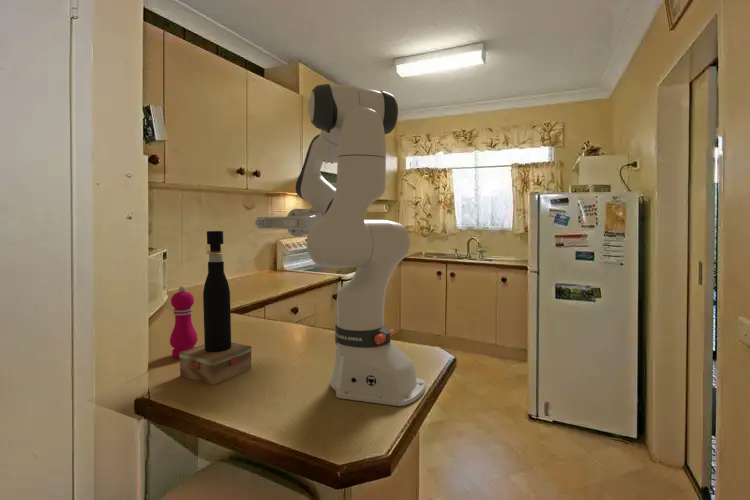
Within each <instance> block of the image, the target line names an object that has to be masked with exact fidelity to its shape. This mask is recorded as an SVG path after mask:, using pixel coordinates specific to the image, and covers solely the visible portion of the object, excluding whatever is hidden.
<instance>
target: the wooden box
mask: <svg viewBox="0 0 750 500" xmlns="http://www.w3.org/2000/svg"><path fill="white" fill-rule="evenodd" d="M194 347H195V348H192V349H189V350H185V351H182V352H180V354H179V358H180V359H179V358H178V359H179V375H180V377H183V378H187V379H191V380H193V381H198V382H202V383H204V384H209V385H213V386H215V385H218V384H219V383H222V382H224V381H226V380H228V379H232V378H233V377H236V376H238V375H241V374H242V373H245V372H247V371H249V370H250V371H251V369H252V346H251V345H246V344H243V343H242V344H240V343H238V342H237V343H236V342H232V341H231V348H230V349H228V350H226V351H221V352H207V351H205V343H204V344H202V345H198V346H194Z"/></svg>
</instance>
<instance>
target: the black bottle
mask: <svg viewBox="0 0 750 500" xmlns="http://www.w3.org/2000/svg"><path fill="white" fill-rule="evenodd" d="M206 244H207V245H209V248H210V249H209V250H210V251H209V252H210V254H208V262H207V276H206V279H205V282H204V285H203V291H202V298H203V299H202V300H203V301H202V302H203V303H202V304H203V331H204V333H203V336H204V339H203V340H204V342H203V343H204V344H205V351H207V352H221V351H226V350H228V349H230V348H231V342H232V325H231V324H232V323H231V321H232V320H231V317H232V316H231V290H230V286H229V285H230V284H229V282H228V279H227V277H226V275H225V266H224V264H225V262H224V261H223V260H224V258H223V254H221V253H222V248H221V245H224V231H223V230H208V231H206Z"/></svg>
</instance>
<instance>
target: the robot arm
mask: <svg viewBox="0 0 750 500" xmlns="http://www.w3.org/2000/svg"><path fill="white" fill-rule="evenodd" d="M308 98H309V99H308V101H307V112H308V116H309V120H310V123H311V124H312V125H313V126H314V127H315V128H316V129H318V130H320V133H319V134H317V135H316V136H314V137H313V139H312V140H311V141H310V143H309V146H308V148H307V152H306V154H305V158H304V160H303V161H304V162H303V165H302V168H301V172H300V174H299V175H298V177H297V180H296V181H295V193H296V195H297V196H299V197H300V198H301V199H303V200H304V201H305V202H306V203H307V204H309V205H310V206H311V208H293V209H291V210H290V211H289V212H288V214H287V216H257V217H256V219H255V221H254V224H255V226H256V228H257V229H259V230H261V229H262V230H273V229H274V230H287V232H288V233H289V234H290V235H291V236H293V237H296V238H301V237H306V251H307V254H308V256H309V257H310V259H311V260H312V262H313V263H314V264H315V265H317V266H321V267H325V268H326V267H328V268H333V269H342V268H343V269H345V268H355V269H356V270H355V273H354V275H353V277H352V278H351V279H350V280H349V281H348V282H347V283H345V284H344V285H342V286H341V287H340V288H339V290H338V293H337V295H336V324H335V325H334V328H335V329H334V339H335V340H334V341H335V346H336V349H335V357H334V358H335V359H334V364H333V365H334V367H333V372H332V375H331V380H330V384H329V385H330V387H331V388H332V389H333V390H334V391H335V396H336V398H337V399H342V400H343V399H345V400H351V401H358V402H365V403H372V404H373V403H374V404H379V405H387V406H395V407H397V406H398V407H404V406H407V405H409V404H411V403H414V402H415V401H417V400H418V399H420V398H421V397H422V395H423V394H424V393H425V391H426V390H427V389H426V388H427V387H426V382H425V380H424V379H422V378H418V377H417V374H416V366H415V364H414V361H413V360H412V358H411V357H410V356H408V355H407V354H406V353H405V352H403V351H402V350H401V349H400V348H399V347H398V346H397V345H395V344H394V342H392V341H391V335H393V334H394V328H391V329H388V327H387V326H386V324H385V319H384V318H385V301H386V300H385V298H386V297H385V296H386V292H387V291H386V290H387V286H388V284H389V281H390V278H391V276H392V274H393V272H394V271H395V269H396V267H397V265H399V263H400V262H402V261H403V260H404V259H405V258H406V256H407V255H408V252H409V250H410V246H411V245H410V244H411V238H410V235H409V232H408V230H407V228H406V227H405V225H403V224H402V223H399V222H396V221H392V220H389V219H388V220H387V219H381V218H380V219H377V218H376V219H375V218H374V219H370V218H369V219H366V218H365V217H366V213H367V210H368V208H369V207H370V206H371V204H372V203H374V202H377V201H378V200H380V198H382V196H383V195H384V193H385V191H386V179H387V178H386V173H387V171H386V170H387V169H386V168H387V146H386V144H387V143H386V135H388V134H390V133H392V131H393V130H394V129H395V128H396V125H397V123H398V117H399V107H398V106H399V105H398V102H397V101H398V100H397V99H396V97H395V96H394V95H393V94H392V93H390V92H387V91H383V90H375V89H370V88H364V87H360V86H359V87H358V86H356V85H347V84H346V85H345V84H339V85H338V84H335V85H331V84H330V83H325V84H324V83H323V84H318V85H316V86H314V87H313V89H312V90H311V94H310V96H309V97H308ZM324 161H326V162H328V163H335V164H336V165H337V166H336V167H337V168H336V185H335V186H333V185H332V183H330V182H329V181H327V179H326V178H325V177H324V176H323V175H322V173H321V170H322V166H323V164H324Z"/></svg>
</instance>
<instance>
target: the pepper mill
mask: <svg viewBox="0 0 750 500" xmlns="http://www.w3.org/2000/svg"><path fill="white" fill-rule="evenodd" d="M194 302H195V297H194V295H193V294H192V293H191V292H190V291H186V287H185V286H184V285H183V286H179V288H178V292H176V293H174V294H173V295H172V296H171V299H170V304H171V307H173V309H172V311H173V314H172V315H174V317H175V318H174V327H173V329H172V332H171V334H170V338H169V344H170V346H171V347H172V348H173V349H172V352H171V353H172V355H171V356H172V358H173V357H174V358H173V359H179V360H180V358H179V354H180V352H182V351H185V350H189V349H192V348H195V347H196V346H195V345H197V343H198V334H197V331H196V329H195V327H194V325H193V323H192V313H193V311H194V310H193V307H192V306H193V305H194V304H195V303H194Z"/></svg>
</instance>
